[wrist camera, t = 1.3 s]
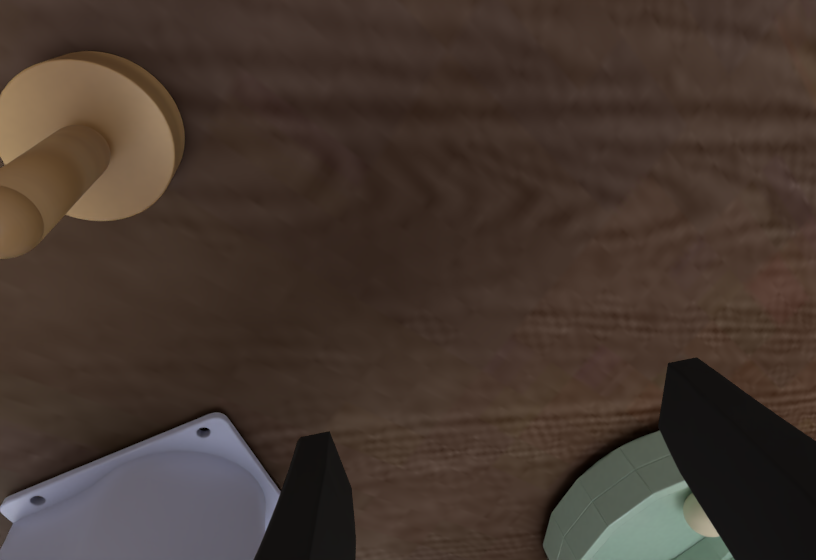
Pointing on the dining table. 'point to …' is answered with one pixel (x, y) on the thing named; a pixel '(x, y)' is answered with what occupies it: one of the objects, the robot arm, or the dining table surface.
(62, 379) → the dining table surface
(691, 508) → the ball
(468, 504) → the dining table surface
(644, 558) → the bowl
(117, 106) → the wooden rubber stamp
